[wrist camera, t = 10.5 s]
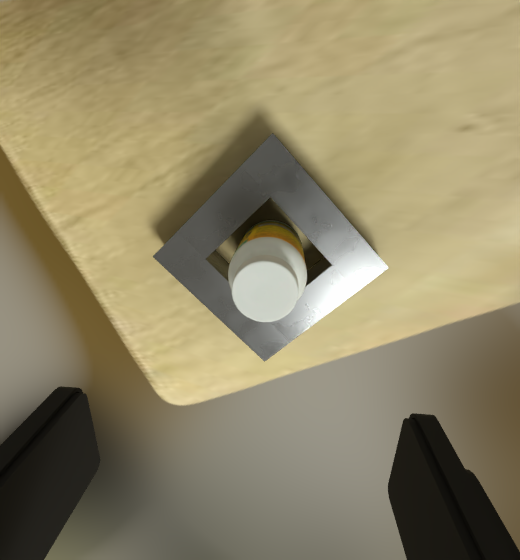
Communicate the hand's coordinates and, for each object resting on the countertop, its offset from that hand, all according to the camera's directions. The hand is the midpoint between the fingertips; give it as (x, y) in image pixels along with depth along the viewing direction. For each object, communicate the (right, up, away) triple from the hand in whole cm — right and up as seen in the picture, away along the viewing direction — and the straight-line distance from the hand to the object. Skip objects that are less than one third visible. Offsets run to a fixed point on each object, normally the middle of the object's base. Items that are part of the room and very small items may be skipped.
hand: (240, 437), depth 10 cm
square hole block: (+1, +7, +19) cm, 20 cm away
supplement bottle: (+2, +7, +19) cm, 20 cm away
